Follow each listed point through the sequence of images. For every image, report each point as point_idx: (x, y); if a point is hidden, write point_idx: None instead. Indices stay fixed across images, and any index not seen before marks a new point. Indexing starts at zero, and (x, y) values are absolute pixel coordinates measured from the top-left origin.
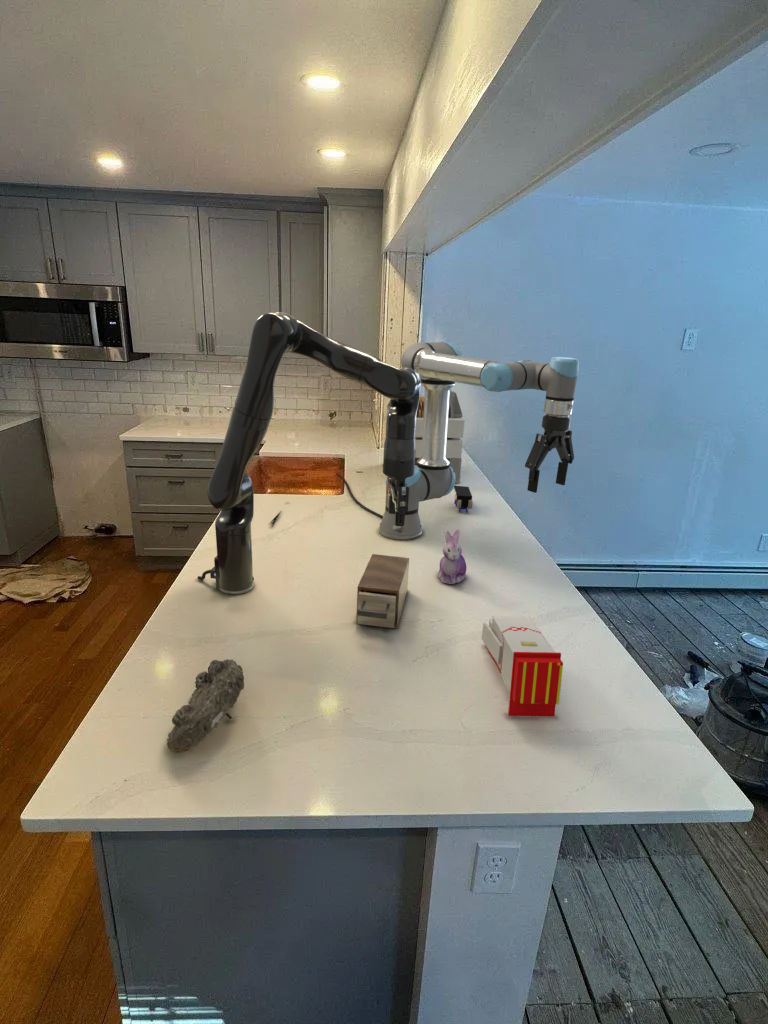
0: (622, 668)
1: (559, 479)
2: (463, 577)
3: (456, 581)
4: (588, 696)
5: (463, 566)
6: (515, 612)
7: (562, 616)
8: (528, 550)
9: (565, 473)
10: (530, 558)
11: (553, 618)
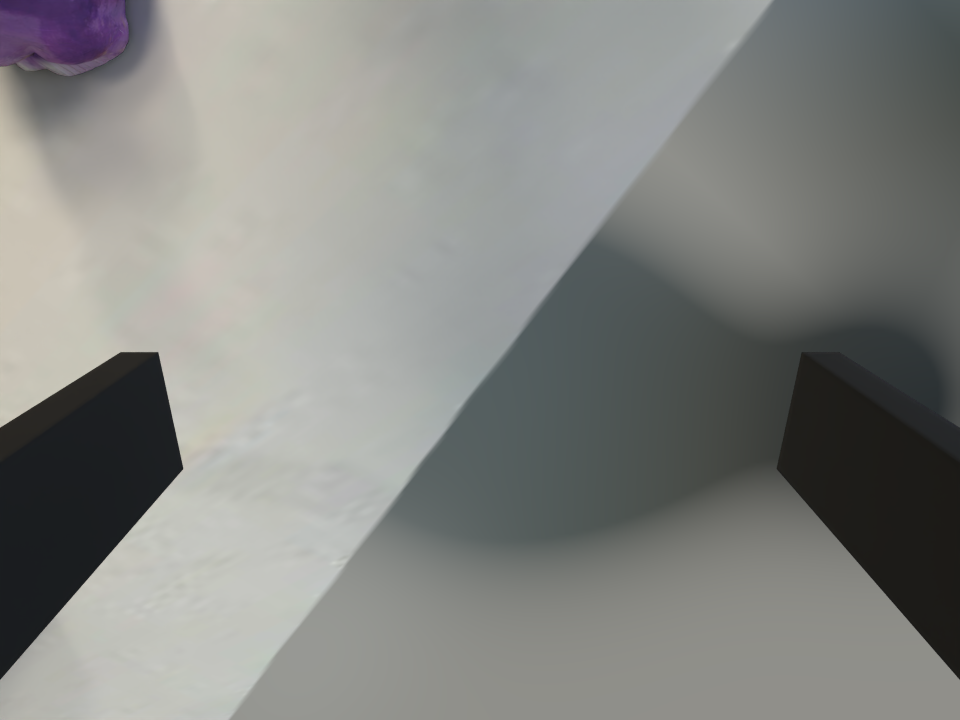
0: (215, 697)
1: (830, 435)
2: (102, 59)
3: (47, 68)
4: (48, 705)
5: (47, 53)
6: None
7: (281, 493)
8: (710, 5)
9: (896, 591)
10: (618, 92)
11: (242, 485)
